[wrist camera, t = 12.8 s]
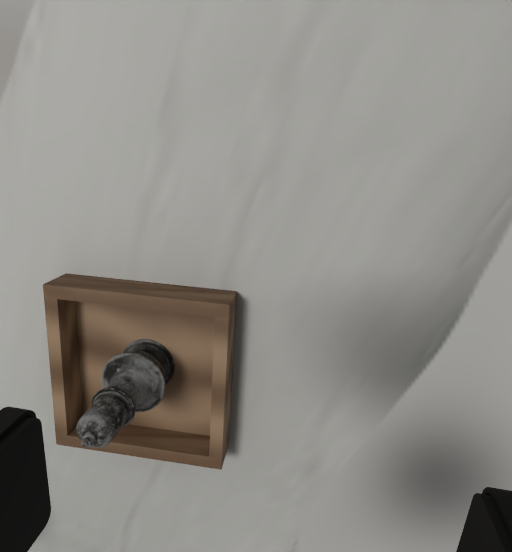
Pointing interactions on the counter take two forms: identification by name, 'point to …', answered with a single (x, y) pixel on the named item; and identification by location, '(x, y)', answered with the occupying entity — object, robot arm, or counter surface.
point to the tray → (155, 326)
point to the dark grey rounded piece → (126, 391)
